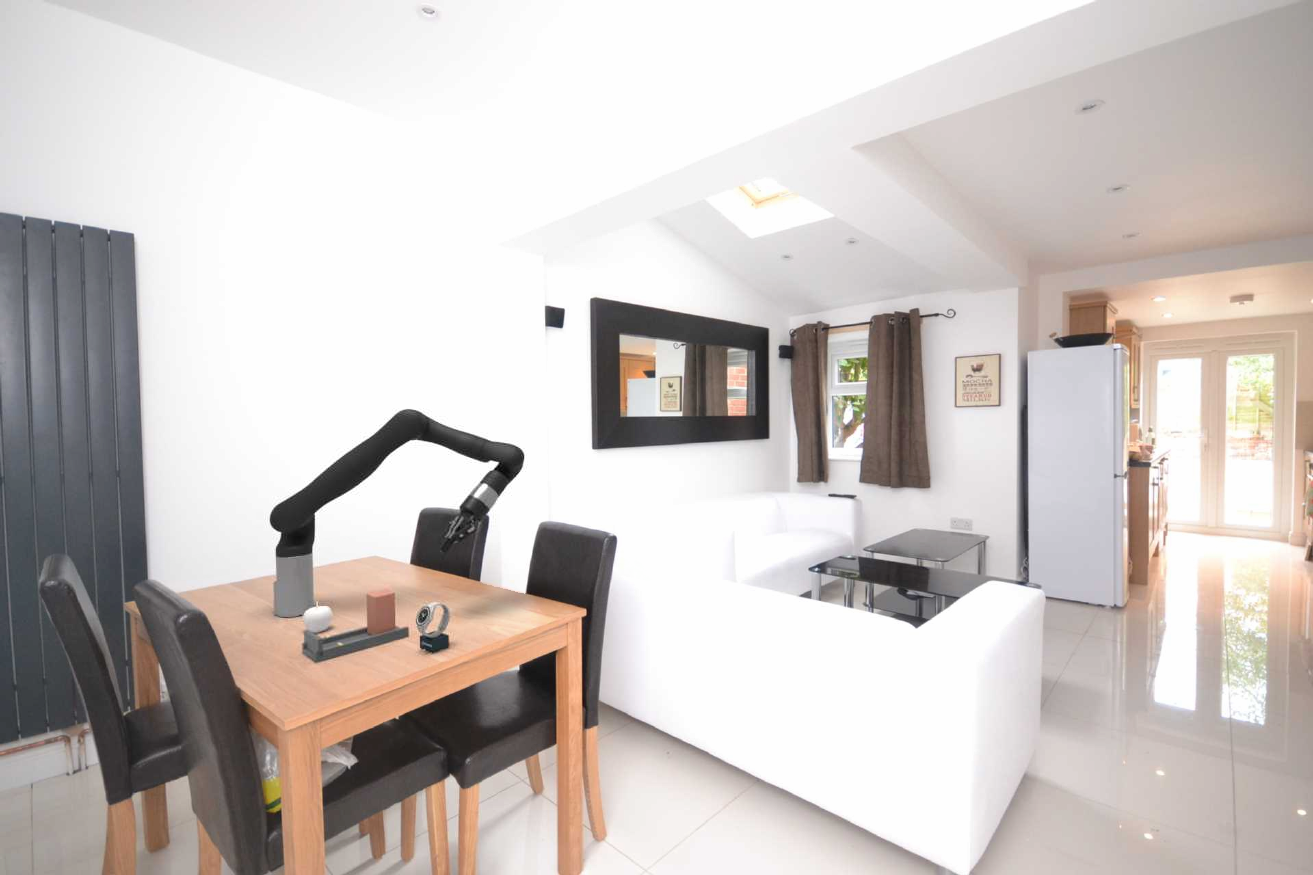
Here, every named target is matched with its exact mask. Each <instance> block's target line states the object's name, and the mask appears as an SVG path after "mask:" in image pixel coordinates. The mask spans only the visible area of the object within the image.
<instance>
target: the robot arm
mask: <svg viewBox="0 0 1313 875" xmlns="http://www.w3.org/2000/svg"><path fill="white" fill-rule="evenodd" d="M410 441H421V442H426V443H427V442H428V443H430V444H435V445H438V446H441V447H444V448H445V449H449V450H451V451H452V452H455V453H457V454H460V455H462V456H464V457H466V458H470V459H472V460H476V461H478V462H481V463H485V464H486V463H489V462H496V463H497V465H496V466H495V467H494V468H493V470H492V469H491V470H489V471H487V473H486V474H485V475H484V476H483V478H482V479H481V480H480V481H479V483H478V484H477V485H476V486H475V487H474V488H473V489H472V490H471V491H470V492H469V494H468V496H467V497H466V498H465V499H464V500H463V502H462V503H461V504H460V506H459V511H460V512H459V514H457V515H456V516H455V518H454V519H453V520H452V521H451V519H449V520H447V521H446V523H445V526H444V532H443V536H444V537H445V539H444V540H443V541H442V542H441V544H439V546H438V547H437V549H438V551H439V552H440V553H442V554H447V553H448V551H449V550H450V549H451V547H452V546H453V545H454V544H456V543H458V542H459V543H461V542H463V541H464V540H465V539H466V538H468V537H470V536H471V535H472V534H474V533H475V532H476V531H477V528H475V525H476V524H477V523H481V522H482V521H483V520H484V519H485V517H487V515H488V513H489V512H490V511H491V510H492V508H493V507H494V505H495V504H496V502H497V500H498V498H500V496H501V495H502V493H503V492H504V490H506V488H507V487H508V485H509V484H510V483H511V482H512V481H513V480H514V479H516V477H517V476H518V475H519V474H520V472H521V471H522V470H523V467H524V462H525V452H524V451H523V449H522V448H520V446H517V445H515V444H512V443H508V442H507V443H506V442H500V441H492V440H490V439H487V438H484V437H481V436H479V435H476V434H473V433H470V432H466V431H463V430H460V429H457V428H453V427H451V426H447V425H445V424H443V423H441V422H439V421H436V420H435V419H433V418H431V417H429V416H428V415H425V414H424V413H423V412H421V411H419V410H416V409H412V408H411V409H410V408H406V409H402V410H399V411H398V412H397V413H395V414H394V415H393V416H392V417H391V418H390V419H389V420H388V421H387V422H386V423H385V424H383V426H381V427H380V428H379V429H378V430H377V431H376V432H375V433H374V434H372V435H371V436H369V437H368V438H367V439H365V440H363V441H362V442H360V443H358V445H356V446H355V447H353V448H352V449H351V450H349V451H347V452H346V453H345V454H343V455H342V456H341V457H339V458H338V459H336V461H334V462H333V463H332V464H331V465H329V466H328V467H327V468H325V469H324V471H323V472H321V473H320V474H319V475H317V476H316V477H315V478H314V479H313V480H312V481H311V482H310V483H309V484H307V485H306V486H305V487H303V488H302V489H300V490H299V491H298V492H296V493H294V494H293V495H291V496H289V497H287V498H286V499H284V500H283V501H281V502H279V503H278V504H276V505H275V506H274V507H273V509H272V510H271V512H270V515H269V524H270V527H271V528H272V529H273V530H275V531H277V532H279V533H280V537H279V541H278V543H277V545H276V546H275V573H276V574H275V575H276V578H275V580H276V581H274V582H273V610H274V612H273V614H274V615H276V616H278V617H280V618H292V617H293V618H294V617H300V616H299V615H301V616H303V615H304V613H305V611H307V610H308V609H310V608H313V607H315V606H314V605H315V603H314V602H315V601H314V600H315V595H314V594H315V592H314V591H315V590H314V587H315V586H314V564H313V563H314V556H313V555H314V554H313V550H314V549H313V548H314V543H315V538H316V513H317V512H319V510H321V509H322V508H323V507H324V506H325V505H327V504H329V503H331V502H333V501H335V500H336V499H338V498H340V497H342V496H343V495H345V494H347V493H348V492H350V491H352V490H353V489H354V488H356V487H357V486H359V485H360V484H361V483H363V482H364V481H365V480H367V479H368V478H369V477H370V476H371V475H372V474H374V472H376V471H377V469H378V468H379V467H380V466H381V465H382V463H383V462H384V461H385V460H386V459H387V457H388V456H390V455H391V454H392V453H393V452H395V451H396V450H397V449H399V448H400V447H402V446H404V445H405V444H406V443H408V442H410Z"/></svg>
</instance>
